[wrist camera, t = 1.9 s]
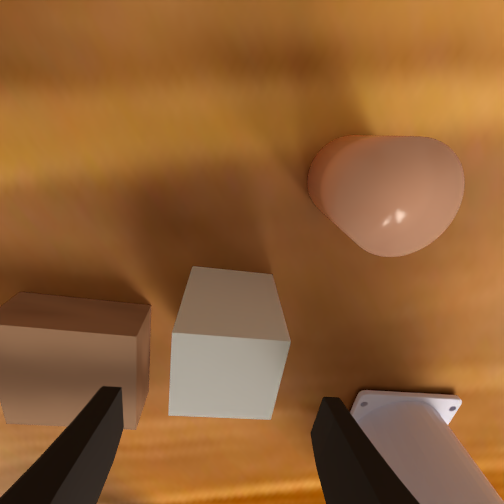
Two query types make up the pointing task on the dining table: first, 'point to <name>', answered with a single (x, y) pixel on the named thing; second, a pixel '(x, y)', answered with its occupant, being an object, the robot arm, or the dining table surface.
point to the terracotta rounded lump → (387, 190)
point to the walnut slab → (71, 356)
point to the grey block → (227, 346)
